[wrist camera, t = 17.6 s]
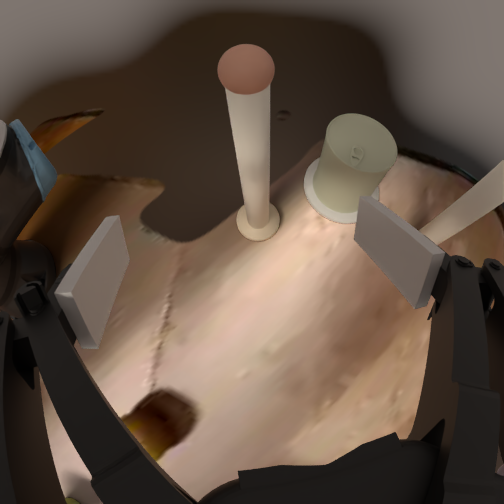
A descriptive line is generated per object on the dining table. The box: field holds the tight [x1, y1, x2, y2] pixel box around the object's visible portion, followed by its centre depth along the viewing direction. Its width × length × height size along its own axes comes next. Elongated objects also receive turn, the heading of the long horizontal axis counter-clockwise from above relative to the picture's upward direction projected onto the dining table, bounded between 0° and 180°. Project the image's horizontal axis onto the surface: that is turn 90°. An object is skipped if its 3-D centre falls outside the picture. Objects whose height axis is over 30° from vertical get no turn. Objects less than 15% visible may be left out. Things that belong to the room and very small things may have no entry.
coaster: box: [304, 158, 379, 224], centre depth 41 cm, size 12×12×1 cm
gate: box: [218, 44, 504, 245], centre depth 26 cm, size 29×6×28 cm, turn 78°
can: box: [313, 114, 397, 213], centre depth 35 cm, size 9×9×12 cm
